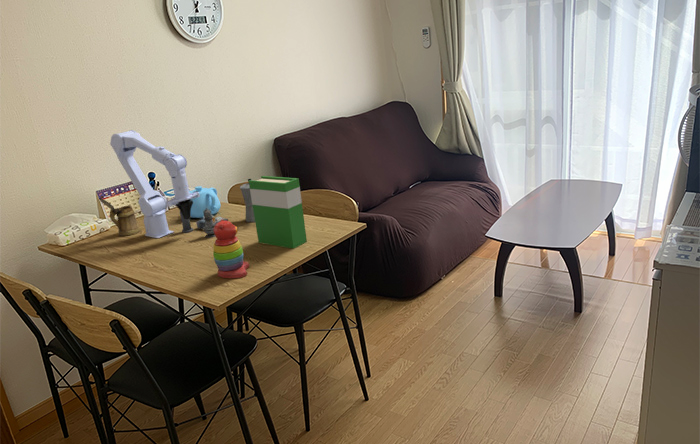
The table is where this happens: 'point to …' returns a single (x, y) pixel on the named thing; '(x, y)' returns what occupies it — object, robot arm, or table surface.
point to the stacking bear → (228, 251)
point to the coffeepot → (248, 202)
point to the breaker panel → (215, 220)
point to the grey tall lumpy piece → (208, 224)
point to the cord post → (186, 224)
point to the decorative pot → (204, 202)
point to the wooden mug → (123, 219)
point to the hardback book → (278, 211)
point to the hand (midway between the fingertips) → (187, 218)
